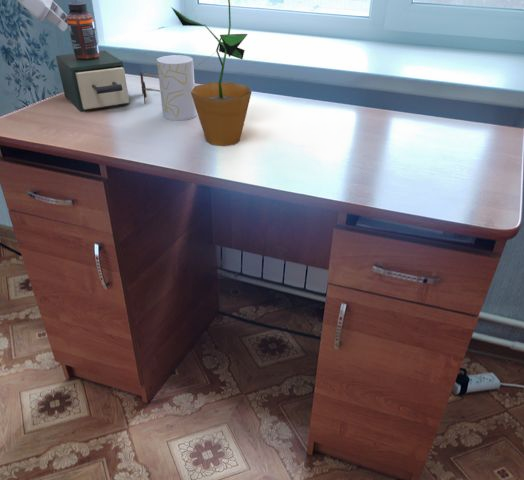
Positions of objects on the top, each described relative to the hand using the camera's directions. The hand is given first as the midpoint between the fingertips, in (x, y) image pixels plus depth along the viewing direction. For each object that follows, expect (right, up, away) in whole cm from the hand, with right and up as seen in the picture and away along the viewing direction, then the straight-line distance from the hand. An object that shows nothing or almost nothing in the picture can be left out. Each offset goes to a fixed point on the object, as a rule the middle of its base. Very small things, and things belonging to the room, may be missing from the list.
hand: (67, 24), depth 119 cm
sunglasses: (+22, -10, +14) cm, 28 cm away
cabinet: (+3, -12, +11) cm, 17 cm away
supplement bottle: (+3, -5, +6) cm, 8 cm away
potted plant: (+37, -31, -9) cm, 49 cm away
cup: (+26, -20, +4) cm, 33 cm away
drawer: (+6, -15, +7) cm, 18 cm away
